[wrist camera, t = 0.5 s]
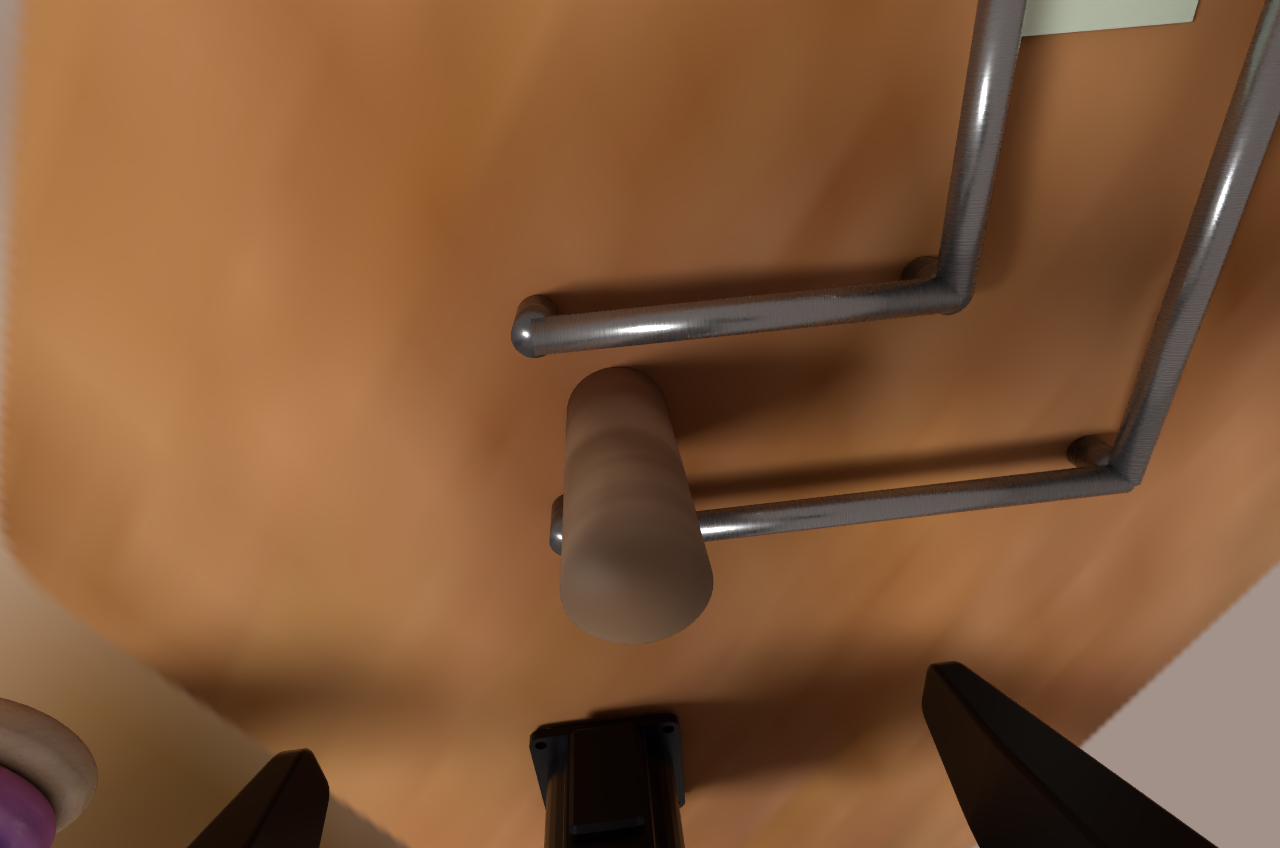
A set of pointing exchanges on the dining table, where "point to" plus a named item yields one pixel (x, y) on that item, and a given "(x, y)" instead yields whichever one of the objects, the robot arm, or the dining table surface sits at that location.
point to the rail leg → (909, 297)
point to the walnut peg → (628, 515)
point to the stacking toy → (40, 776)
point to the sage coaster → (1103, 14)
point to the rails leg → (1265, 90)
